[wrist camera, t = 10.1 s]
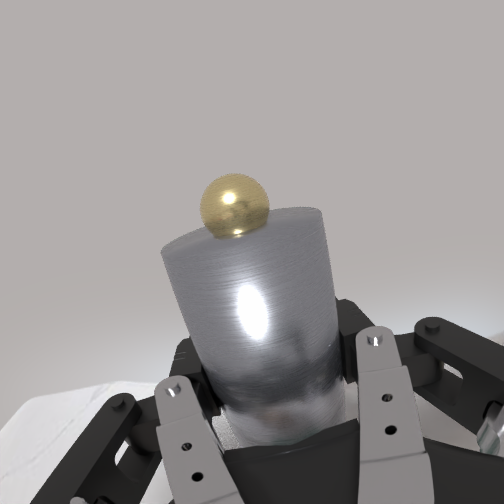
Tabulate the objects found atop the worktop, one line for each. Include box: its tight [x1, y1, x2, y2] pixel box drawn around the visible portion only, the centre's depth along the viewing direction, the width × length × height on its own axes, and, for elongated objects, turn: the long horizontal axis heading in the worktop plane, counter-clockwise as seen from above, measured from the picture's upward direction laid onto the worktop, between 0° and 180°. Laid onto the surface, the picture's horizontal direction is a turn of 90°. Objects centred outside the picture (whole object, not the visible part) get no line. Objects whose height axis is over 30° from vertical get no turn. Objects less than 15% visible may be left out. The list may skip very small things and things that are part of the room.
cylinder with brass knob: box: [161, 174, 346, 448], centre depth 10 cm, size 5×5×13 cm
